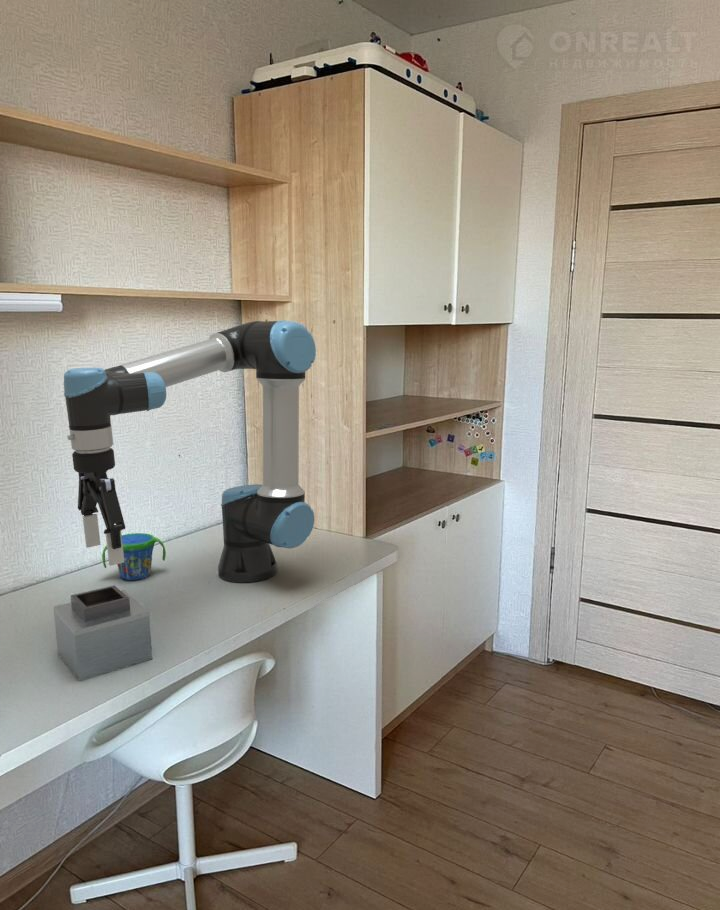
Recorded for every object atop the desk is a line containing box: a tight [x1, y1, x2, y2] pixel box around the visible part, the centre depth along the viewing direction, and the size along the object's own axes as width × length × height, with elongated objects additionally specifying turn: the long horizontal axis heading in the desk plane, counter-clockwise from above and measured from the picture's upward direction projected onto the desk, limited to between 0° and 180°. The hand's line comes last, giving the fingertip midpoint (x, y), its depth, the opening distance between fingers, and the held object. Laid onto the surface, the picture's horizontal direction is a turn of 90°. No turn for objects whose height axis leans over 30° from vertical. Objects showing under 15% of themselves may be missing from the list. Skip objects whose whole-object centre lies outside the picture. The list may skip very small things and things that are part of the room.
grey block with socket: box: [53, 584, 153, 682], centre depth 140 cm, size 14×14×12 cm
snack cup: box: [101, 532, 167, 581], centre depth 184 cm, size 16×10×10 cm
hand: (104, 554), depth 141 cm, fingers open, 13 cm apart
